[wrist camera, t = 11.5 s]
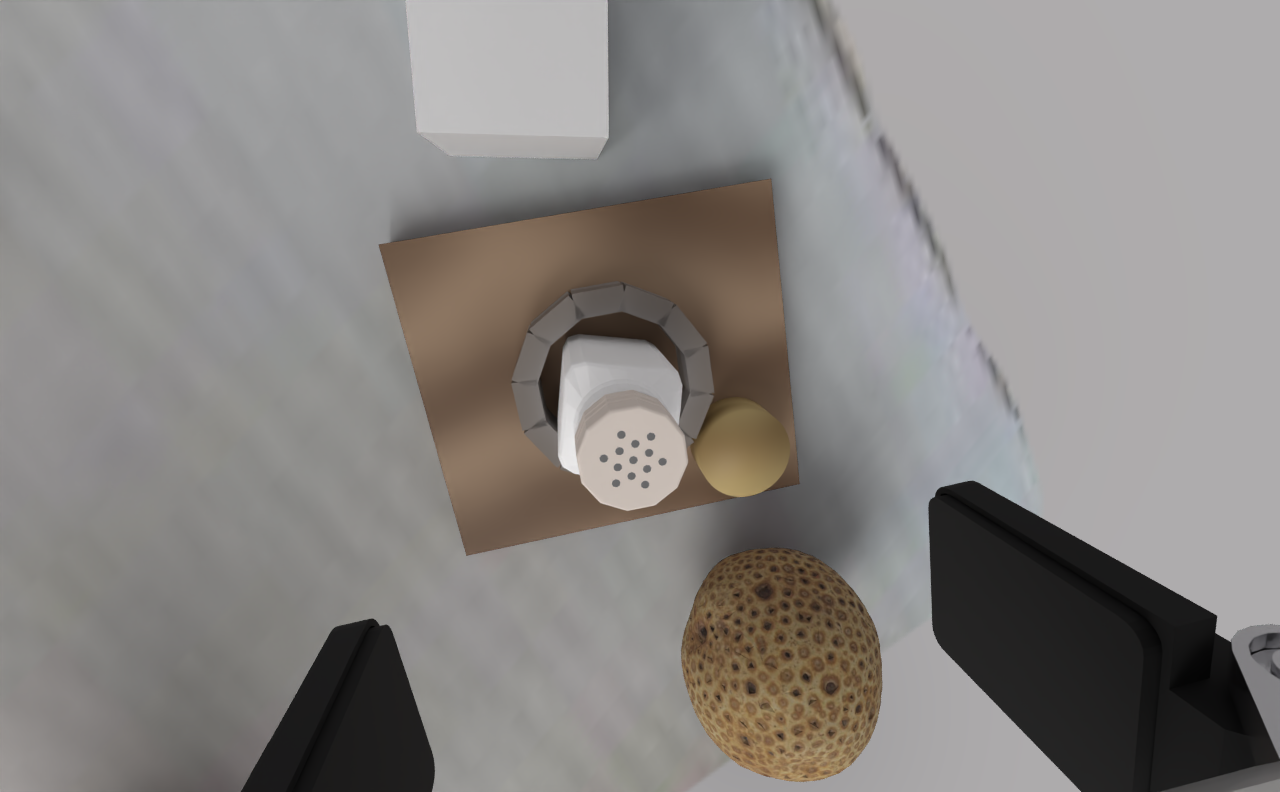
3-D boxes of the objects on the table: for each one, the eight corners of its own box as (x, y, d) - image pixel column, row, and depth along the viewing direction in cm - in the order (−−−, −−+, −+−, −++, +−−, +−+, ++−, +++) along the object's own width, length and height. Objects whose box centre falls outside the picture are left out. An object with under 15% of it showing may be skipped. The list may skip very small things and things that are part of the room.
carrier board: (788, 471, 30) (817, 501, 26) (470, 539, 28) (459, 580, 25) (759, 181, 26) (789, 173, 22) (389, 244, 24) (362, 245, 21)
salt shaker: (556, 420, 26) (556, 521, 17) (563, 330, 25) (567, 386, 16) (645, 426, 26) (692, 527, 17) (656, 338, 25) (712, 397, 16)
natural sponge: (632, 555, 30) (668, 706, 20) (790, 479, 30) (900, 594, 20) (700, 683, 33) (760, 869, 23) (845, 613, 33) (964, 770, 23)
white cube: (437, -12, 22) (396, -98, 17) (594, -3, 23) (607, -82, 17) (450, 157, 24) (416, 132, 18) (597, 160, 25) (609, 137, 19)
